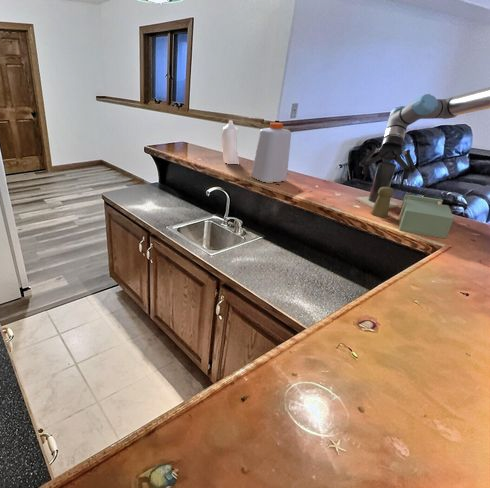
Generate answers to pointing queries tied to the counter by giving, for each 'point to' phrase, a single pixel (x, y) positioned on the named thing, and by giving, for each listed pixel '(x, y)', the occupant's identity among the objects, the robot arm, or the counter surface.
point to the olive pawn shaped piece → (382, 202)
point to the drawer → (422, 199)
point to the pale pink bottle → (230, 143)
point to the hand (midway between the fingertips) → (382, 182)
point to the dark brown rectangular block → (382, 179)
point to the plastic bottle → (272, 154)
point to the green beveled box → (425, 218)
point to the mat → (371, 204)
